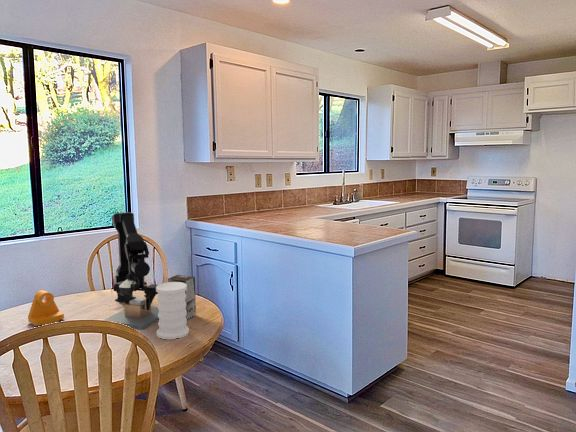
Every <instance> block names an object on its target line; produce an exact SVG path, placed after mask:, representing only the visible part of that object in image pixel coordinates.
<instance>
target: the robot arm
mask: <svg viewBox="0 0 576 432" xmlns="http://www.w3.org/2000/svg"><path fill="white" fill-rule="evenodd" d="M111 224H113V228H114V229H115V231H116V232H117V241H118V261H119V265H118V267H117V269H116V270H115V275H114V279H113V287H112V288H113V289H112V290H113V292H115V293H116V295H117V298H115V300H114V302H115V301H116V302H123V303H124V304H126V303H128V302H130V301H131V300H133V299H135V298H137V297H136V296H134V295H133V294H134V293H133V292H137V291H139V292H143V293H144V295H143V297H144V299H146V309H147V310H149V308H150V306H152V303H153V300H154V299H155V297H156V295H158V292H156V286H157V285H158V284H154V283H151V284H150V285H147V281H145V277H146V276H148V275H149V274H150V270H151V268H150V265H149V263H147V262H146V261H145V259H147V258H149V255H150V252H149V247H148V245H147V242H146V241H145V239H144V238H143V236H142V235H140V234H139V233H138V230H137V227H136V224H135V213H133V212H131V211H127V212H124V211H122V212H114V213H113V214H112V216H111ZM146 285H147V286H146Z"/></svg>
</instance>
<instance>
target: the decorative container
mask: <svg viewBox="0 0 576 432" xmlns="http://www.w3.org/2000/svg"><path fill="white" fill-rule="evenodd" d="M156 285H157V286H156V292H158V294H157V301H158V304H157V307H158V309H159V313H158V317H159V320H158V323H157V325H158V327H159V328H158V329H157V330H156V337H157V336H158V337H159V338H158V337H157V338H158V339H160V338H162V339H161V340H163V339H175V338H180V337H183V336H185V335H187V334H188V333H189V334H190V328H189V326H187V322H188V320H187V319H186V314H187V312H186V302H185V299H186V294H185V291H186V290H187V284H185V283H182V282H168V281H167V282H163V283H160V284H156ZM189 334H188V335H189ZM188 335H187V336H188ZM185 337H186V336H185ZM183 338H184V337H183ZM180 339H181V338H180Z"/></svg>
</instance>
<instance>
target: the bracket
mask: <svg viewBox="0 0 576 432" xmlns="http://www.w3.org/2000/svg"><path fill="white" fill-rule="evenodd" d="M44 297H45V298H44ZM27 319H28V322H29V323H30V324H32V325H33V326H36V327H37V326H42V325H45V324H49V323H53V324H55V323H54V322H57V323H59V321H60V320H63V319H65V313H64V312H62V311H60V310H59V308H58V306H57V304H56V302H55V296H54V295H53V294H52V293H51V292H49V291H47V290H44V289H41V290H38V291H37V292H36V293H35V294H34V296H33V300H32V303H31V306H30V309H29V312H28V315H27ZM49 325H50V324H49ZM45 326H46V325H45Z"/></svg>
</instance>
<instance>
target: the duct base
mask: <svg viewBox="0 0 576 432" xmlns="http://www.w3.org/2000/svg"><path fill="white" fill-rule="evenodd" d="M145 302H146V298H140V297H136V298H134V299H132V300H130V305H138V306H140V305H142V304H144V303H145ZM158 313H159V309H158V306H152V305H151V313H149V314H148V315H146V316H144V317H142V318H141V319H139V318H132V317H125V309H122V310H120V311H119V312H117V313H115V314H113V315H111V316H109V317H107V318H105V319H104V320H105V321H113V322H117V323H121V324H124V325H127V326H130V327H132V329H138V330H144V329H145V328H147V327H149V326H150V325H152V324H154V323H155V322H157V321H159V320H158V319H159V317H158ZM153 322H154V323H153ZM148 325H149V326H148ZM130 327H129V328H130Z"/></svg>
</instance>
